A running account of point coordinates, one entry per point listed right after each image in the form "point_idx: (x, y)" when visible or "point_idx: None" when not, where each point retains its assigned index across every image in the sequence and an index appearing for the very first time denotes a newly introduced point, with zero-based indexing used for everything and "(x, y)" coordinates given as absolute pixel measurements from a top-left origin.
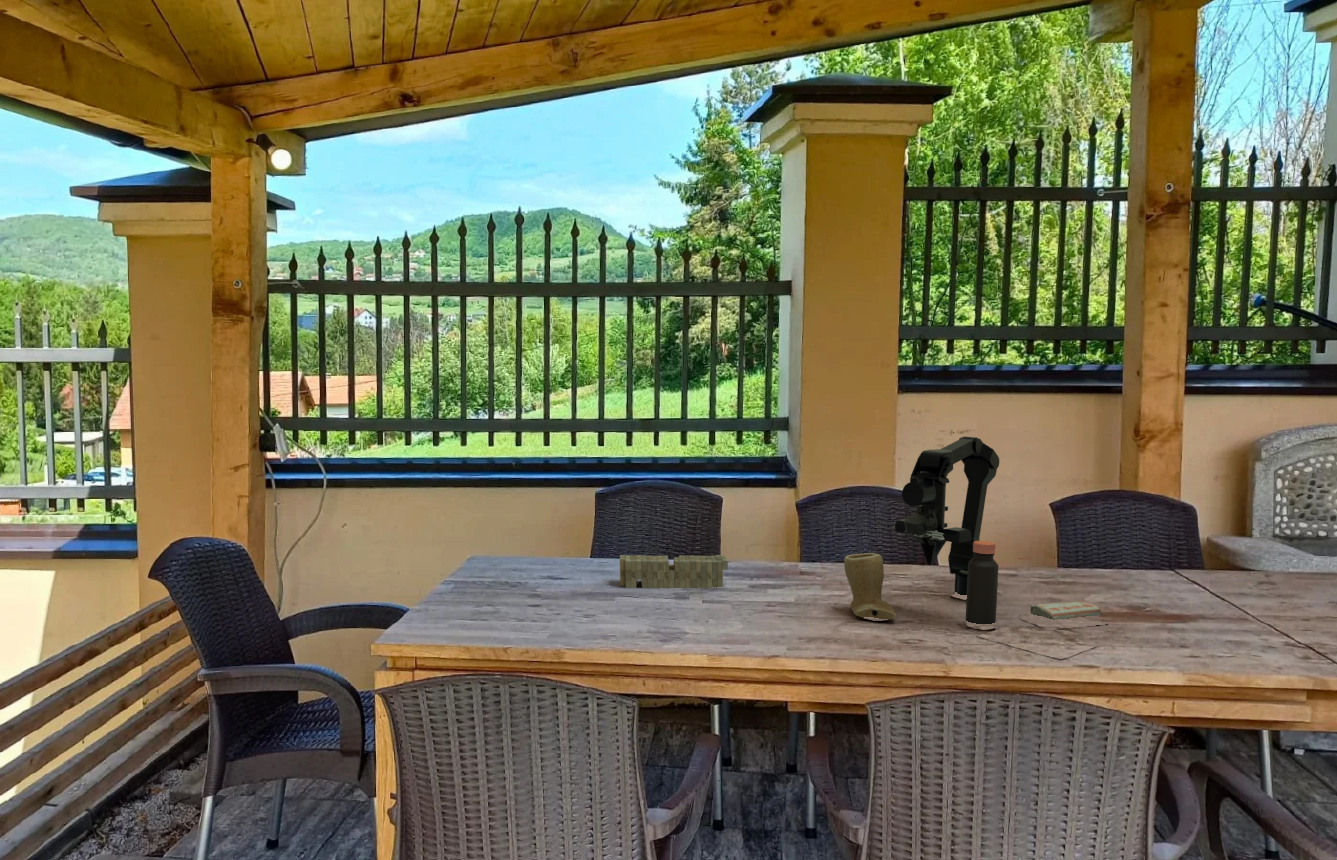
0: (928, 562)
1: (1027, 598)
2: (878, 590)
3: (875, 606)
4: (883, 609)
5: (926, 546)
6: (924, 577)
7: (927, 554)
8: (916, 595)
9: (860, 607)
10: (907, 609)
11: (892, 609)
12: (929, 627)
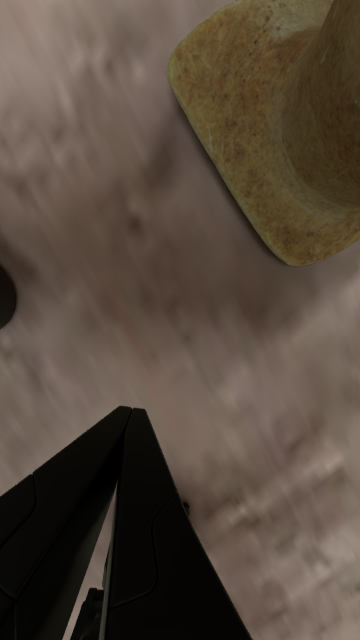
0: (132, 415)
1: None
2: (308, 63)
3: (260, 24)
4: (215, 23)
5: (109, 580)
6: (319, 612)
7: (123, 462)
8: (267, 465)
9: (324, 17)
10: (223, 314)
11: (213, 142)
12: (68, 160)
